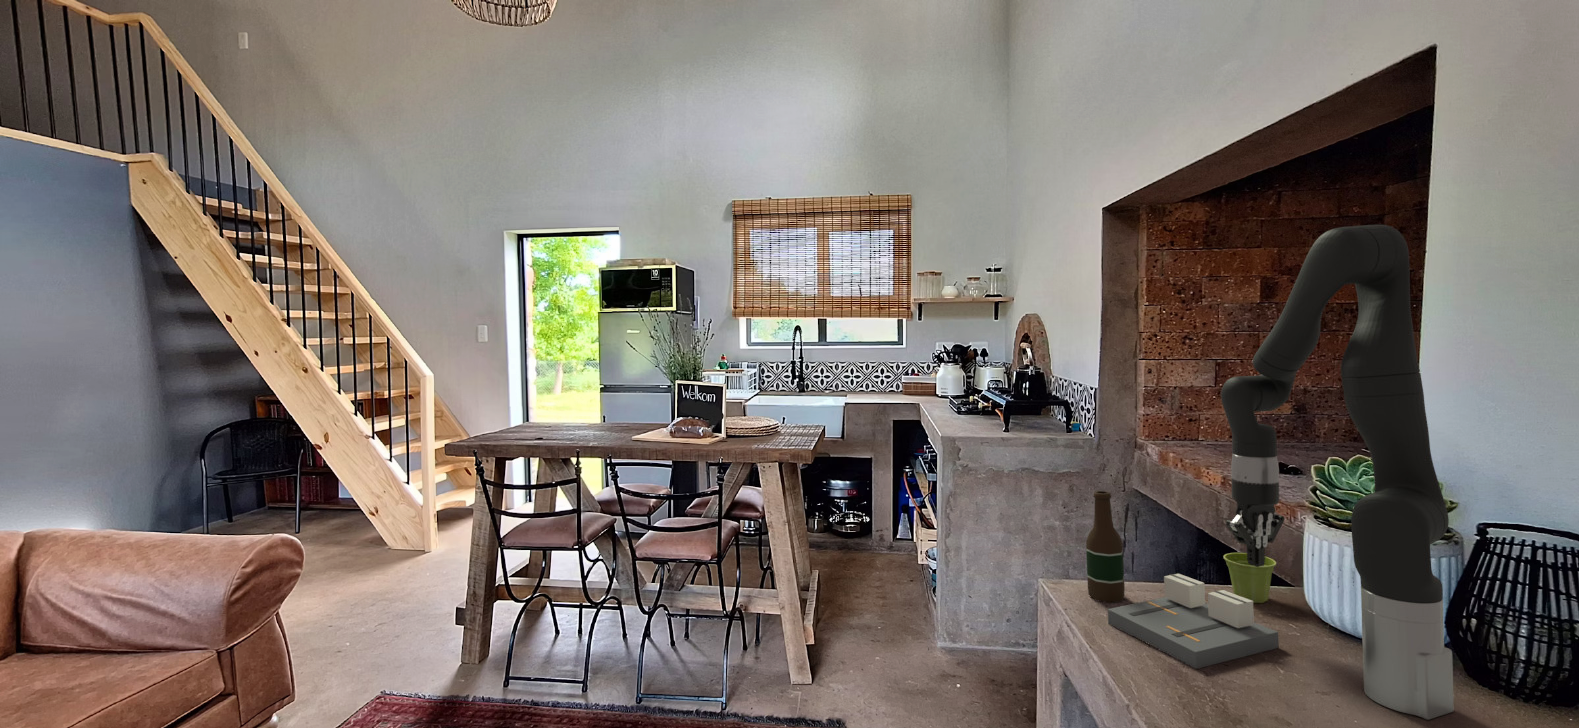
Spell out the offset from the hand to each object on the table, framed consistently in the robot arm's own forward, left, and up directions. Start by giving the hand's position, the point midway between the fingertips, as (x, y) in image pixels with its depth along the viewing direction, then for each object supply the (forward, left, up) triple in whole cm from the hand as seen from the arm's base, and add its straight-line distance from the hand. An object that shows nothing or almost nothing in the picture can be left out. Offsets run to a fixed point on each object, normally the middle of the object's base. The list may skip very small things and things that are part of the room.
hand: (1256, 565), depth 124 cm
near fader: (0, +7, -10) cm, 12 cm away
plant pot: (+12, -14, -13) cm, 22 cm away
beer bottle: (+25, +13, -13) cm, 31 cm away
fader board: (+4, +13, -13) cm, 19 cm away
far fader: (+10, +7, -10) cm, 16 cm away
